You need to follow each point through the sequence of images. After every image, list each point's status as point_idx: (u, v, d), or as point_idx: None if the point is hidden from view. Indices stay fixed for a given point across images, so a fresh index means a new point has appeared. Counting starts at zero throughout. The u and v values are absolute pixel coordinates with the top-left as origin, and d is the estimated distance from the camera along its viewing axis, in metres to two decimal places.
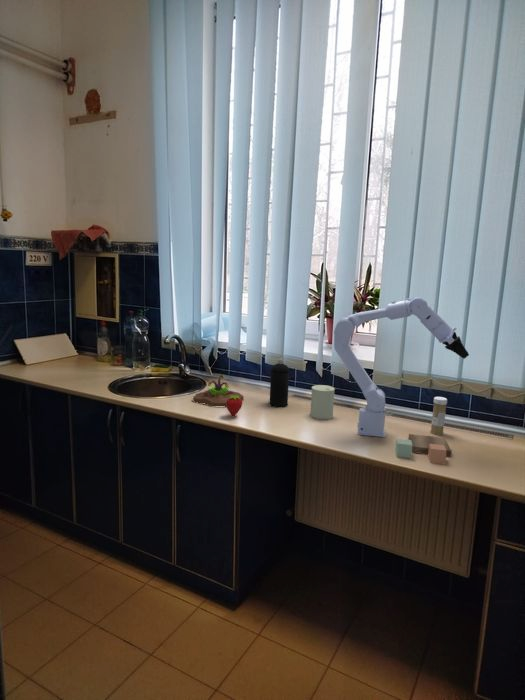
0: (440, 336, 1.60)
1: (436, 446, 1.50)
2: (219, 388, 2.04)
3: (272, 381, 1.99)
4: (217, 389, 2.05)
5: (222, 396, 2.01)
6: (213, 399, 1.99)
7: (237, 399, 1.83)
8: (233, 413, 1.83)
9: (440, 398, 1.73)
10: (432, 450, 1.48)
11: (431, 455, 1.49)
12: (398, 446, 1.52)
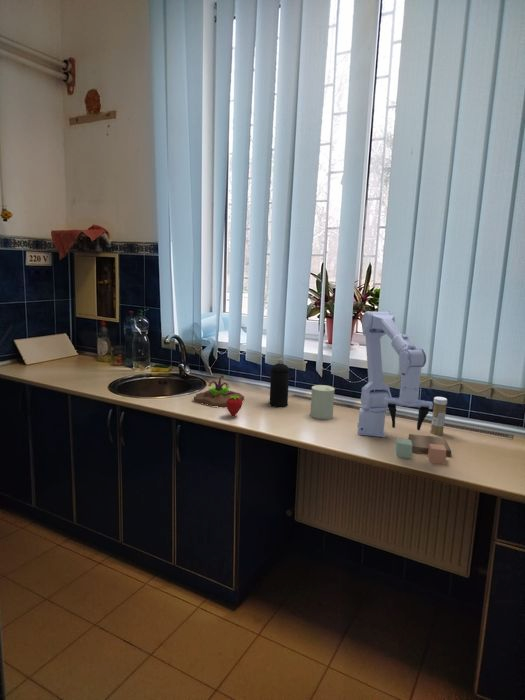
0: None
1: (436, 446, 1.50)
2: (219, 388, 2.04)
3: (272, 381, 1.99)
4: (217, 389, 2.04)
5: (222, 396, 2.00)
6: (213, 399, 1.98)
7: (237, 399, 1.83)
8: (233, 413, 1.83)
9: (440, 398, 1.73)
10: (432, 450, 1.48)
11: (431, 455, 1.49)
12: (398, 446, 1.52)
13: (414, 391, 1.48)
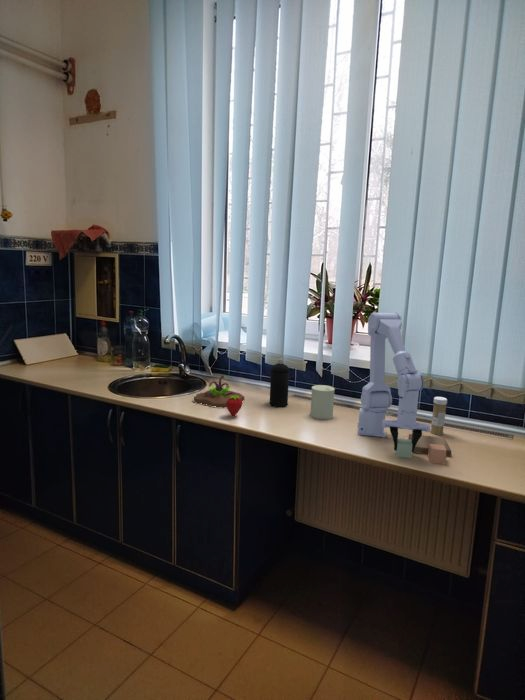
0: None
1: (436, 446, 1.50)
2: (220, 389, 2.04)
3: (272, 381, 1.99)
4: (218, 389, 2.04)
5: (223, 397, 2.00)
6: (214, 400, 1.98)
7: (237, 399, 1.83)
8: (233, 413, 1.83)
9: (440, 398, 1.73)
10: (432, 450, 1.48)
11: (431, 455, 1.49)
12: (398, 446, 1.52)
13: (412, 415, 1.49)
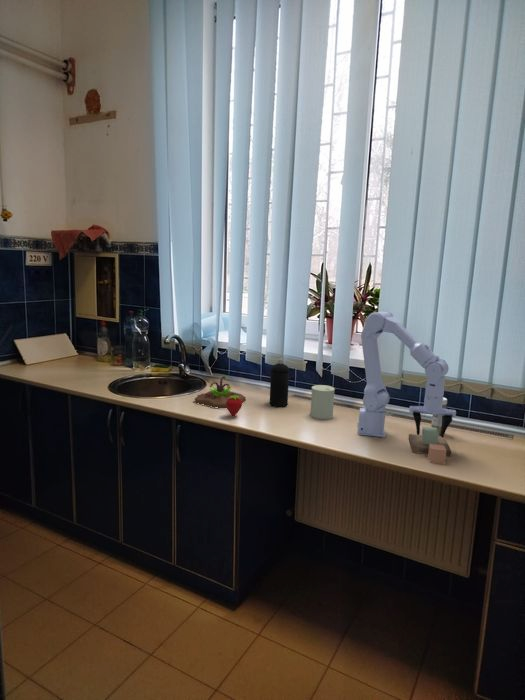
0: None
1: (436, 446, 1.50)
2: (221, 389, 2.03)
3: (272, 381, 1.99)
4: (219, 390, 2.03)
5: (224, 397, 1.99)
6: (215, 400, 1.97)
7: (237, 399, 1.83)
8: (233, 413, 1.83)
9: None
10: (432, 450, 1.48)
11: (431, 455, 1.49)
12: (424, 433, 1.58)
13: (438, 400, 1.55)
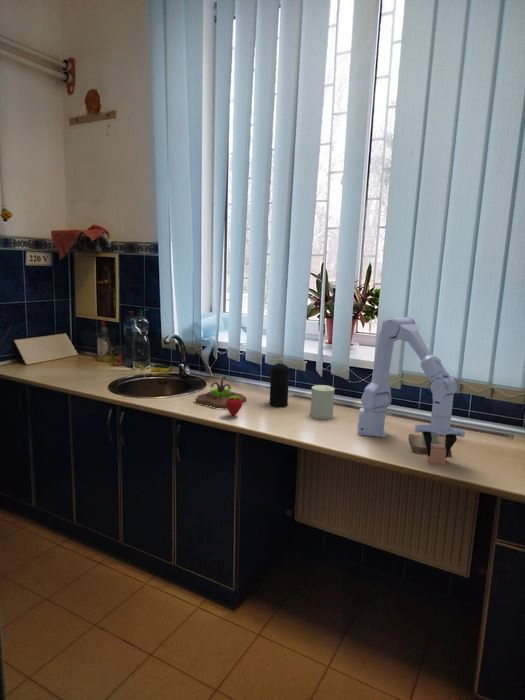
0: None
1: (436, 446, 1.50)
2: (222, 390, 2.02)
3: (272, 381, 1.99)
4: (220, 391, 2.02)
5: (225, 398, 1.98)
6: (215, 401, 1.96)
7: (237, 399, 1.83)
8: (233, 413, 1.83)
9: None
10: (432, 450, 1.48)
11: (431, 455, 1.49)
12: None
13: (446, 419, 1.46)
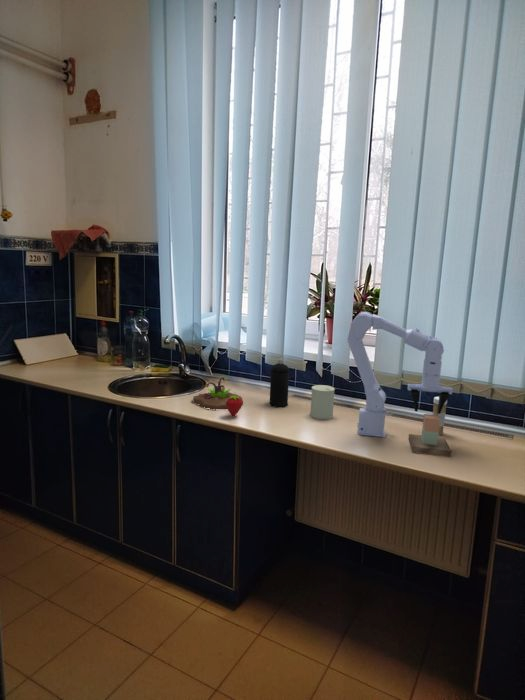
0: None
1: (431, 416, 1.59)
2: (218, 390, 2.01)
3: (272, 381, 1.99)
4: (216, 391, 2.01)
5: (217, 399, 1.96)
6: (207, 401, 1.96)
7: (237, 399, 1.83)
8: (233, 413, 1.83)
9: None
10: (426, 419, 1.57)
11: (426, 424, 1.58)
12: (424, 433, 1.58)
13: (436, 377, 1.61)
